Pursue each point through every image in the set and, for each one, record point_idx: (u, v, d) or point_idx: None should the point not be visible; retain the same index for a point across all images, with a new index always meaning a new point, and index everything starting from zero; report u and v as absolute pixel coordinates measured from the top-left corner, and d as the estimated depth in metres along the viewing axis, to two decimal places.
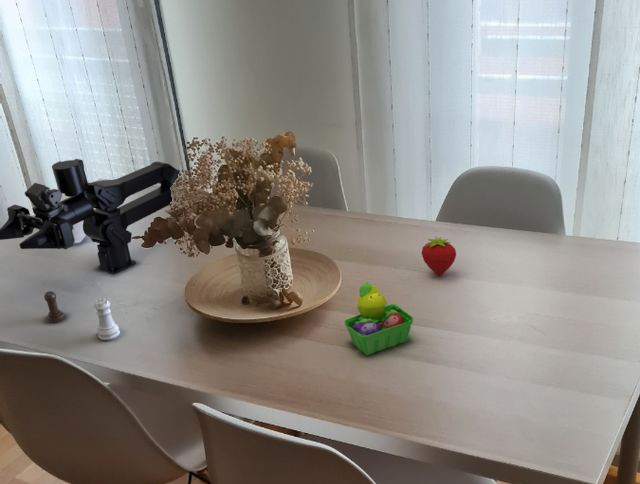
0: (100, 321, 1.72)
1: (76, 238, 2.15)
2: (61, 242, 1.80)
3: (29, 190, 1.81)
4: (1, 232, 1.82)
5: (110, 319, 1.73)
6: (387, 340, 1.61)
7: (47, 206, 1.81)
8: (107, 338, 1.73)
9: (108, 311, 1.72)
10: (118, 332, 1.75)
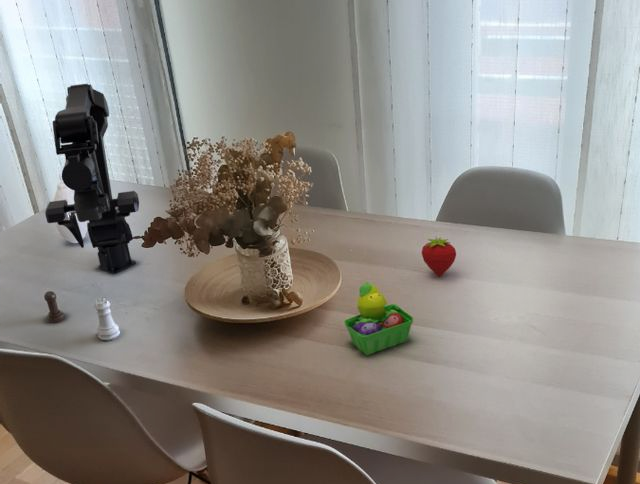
0: (100, 321, 1.72)
1: None
2: None
3: (84, 218, 1.73)
4: (81, 239, 1.83)
5: (110, 319, 1.73)
6: (387, 340, 1.61)
7: None
8: (107, 338, 1.73)
9: (108, 311, 1.72)
10: (118, 332, 1.75)
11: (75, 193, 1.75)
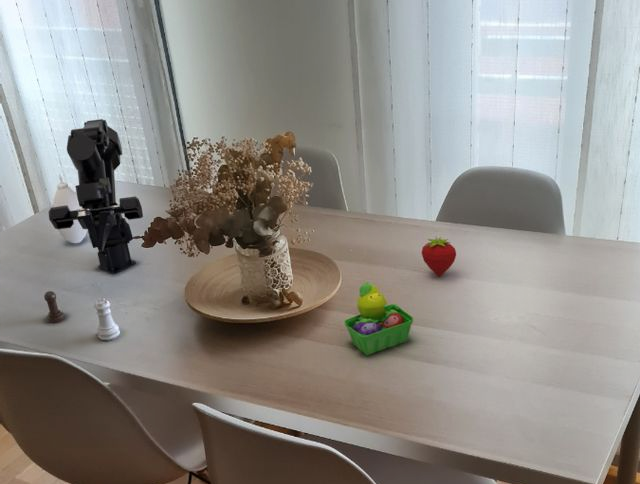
0: (100, 321, 1.72)
1: (76, 238, 2.15)
2: (115, 218, 1.84)
3: (83, 196, 1.75)
4: None
5: (110, 319, 1.73)
6: (387, 340, 1.61)
7: (103, 196, 1.79)
8: (107, 338, 1.73)
9: (108, 311, 1.72)
10: (118, 332, 1.75)
11: None
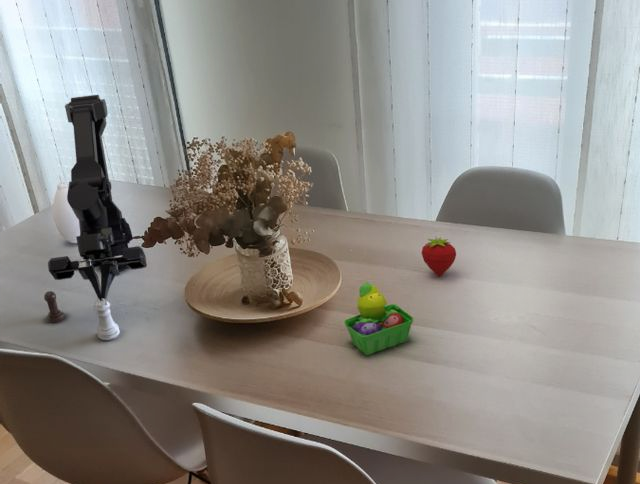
0: (100, 321, 1.72)
1: None
2: (117, 268, 1.76)
3: (85, 247, 1.67)
4: None
5: (110, 319, 1.72)
6: (387, 340, 1.61)
7: (105, 246, 1.71)
8: (107, 338, 1.73)
9: (108, 312, 1.71)
10: (118, 332, 1.75)
11: None
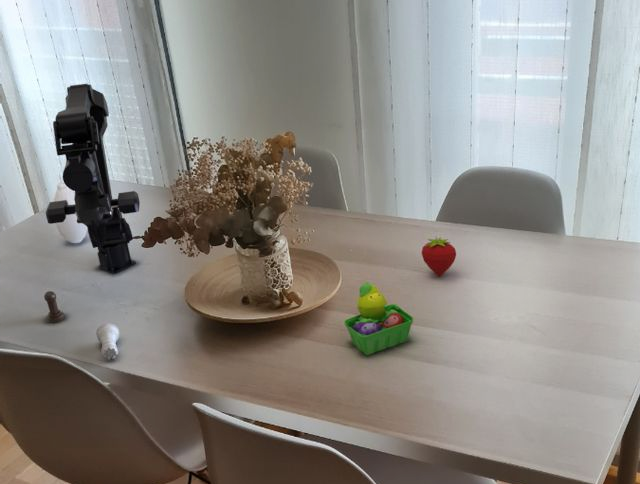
0: None
1: (76, 238, 2.15)
2: None
3: (85, 219, 1.73)
4: None
5: None
6: (387, 340, 1.61)
7: None
8: None
9: None
10: None
11: (76, 194, 1.75)
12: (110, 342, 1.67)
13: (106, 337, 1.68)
